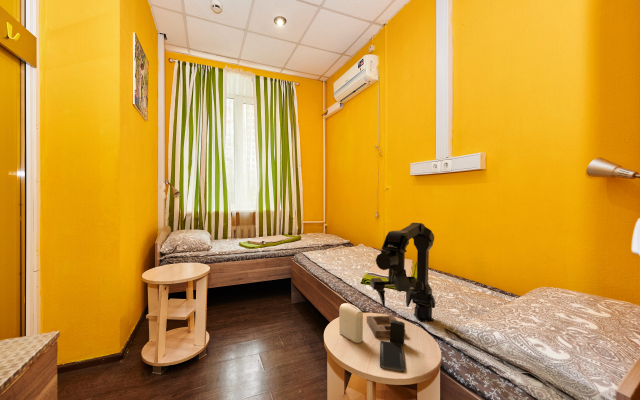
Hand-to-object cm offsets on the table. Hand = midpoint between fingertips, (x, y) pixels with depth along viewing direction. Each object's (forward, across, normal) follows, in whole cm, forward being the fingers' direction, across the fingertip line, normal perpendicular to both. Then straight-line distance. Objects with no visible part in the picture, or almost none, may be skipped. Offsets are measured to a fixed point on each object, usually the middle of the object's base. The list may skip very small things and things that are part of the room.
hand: (395, 306), depth 95 cm
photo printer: (+14, -16, +4) cm, 22 cm away
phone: (+14, -4, -8) cm, 17 cm away
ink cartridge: (+14, +1, -1) cm, 14 cm away
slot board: (+13, -1, +10) cm, 16 cm away
